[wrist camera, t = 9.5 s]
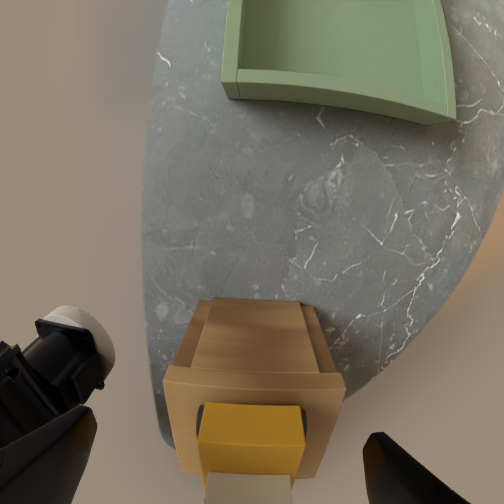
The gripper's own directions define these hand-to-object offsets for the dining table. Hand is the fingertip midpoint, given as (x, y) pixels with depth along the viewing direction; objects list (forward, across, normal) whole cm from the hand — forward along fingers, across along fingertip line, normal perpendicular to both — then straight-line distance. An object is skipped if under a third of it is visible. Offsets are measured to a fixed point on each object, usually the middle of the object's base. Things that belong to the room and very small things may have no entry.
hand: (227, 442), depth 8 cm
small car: (+4, -1, +5) cm, 6 cm away
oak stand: (+13, -1, +5) cm, 13 cm away
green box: (+13, -5, -21) cm, 25 cm away
